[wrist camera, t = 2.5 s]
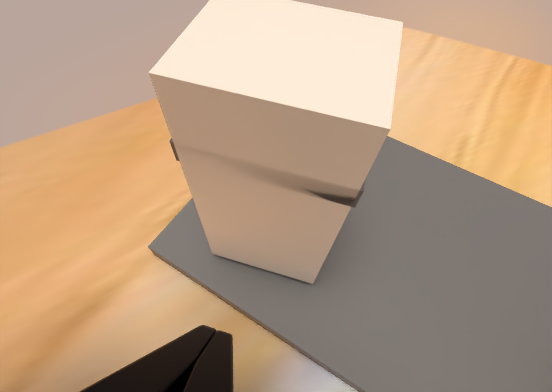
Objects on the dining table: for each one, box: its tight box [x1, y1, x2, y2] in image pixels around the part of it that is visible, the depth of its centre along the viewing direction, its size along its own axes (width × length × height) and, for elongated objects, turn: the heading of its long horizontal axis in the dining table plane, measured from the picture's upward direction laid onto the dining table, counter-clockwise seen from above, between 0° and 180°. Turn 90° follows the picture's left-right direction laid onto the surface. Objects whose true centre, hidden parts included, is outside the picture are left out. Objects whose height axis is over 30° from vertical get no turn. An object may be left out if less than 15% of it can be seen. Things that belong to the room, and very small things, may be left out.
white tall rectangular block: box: [149, 0, 403, 284], centre depth 11 cm, size 4×5×10 cm
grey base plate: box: [148, 136, 552, 392], centre depth 14 cm, size 14×27×5 cm, turn 59°
